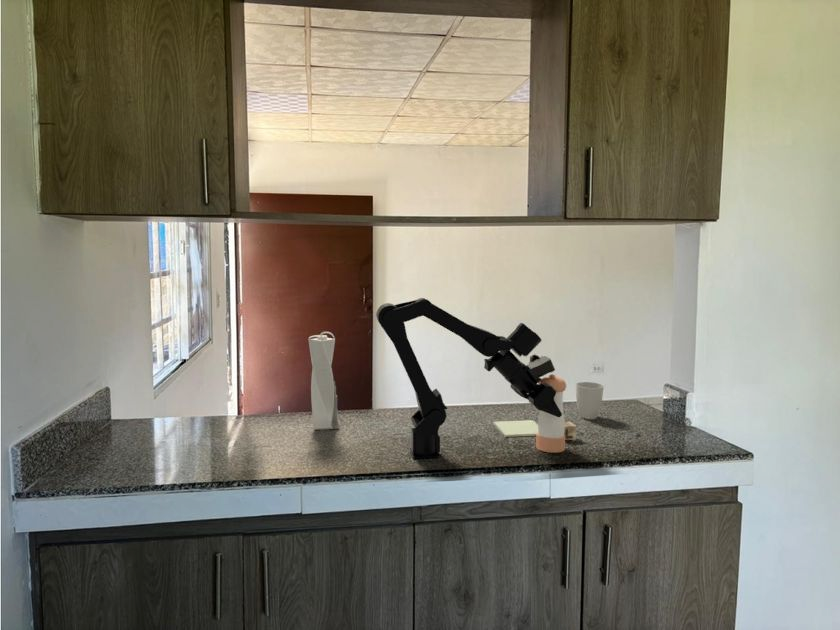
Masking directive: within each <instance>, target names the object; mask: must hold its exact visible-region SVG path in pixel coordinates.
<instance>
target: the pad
mask: <svg viewBox="0 0 840 630" xmlns="http://www.w3.org/2000/svg"><path fill="white" fill-rule="evenodd" d="M492 424H493V425H494V427H495V428H497V429H498V431H500V433H501V434H502V435H503V436H504V437H505V438H508V437H509V438H513V437H514V438H515V437H533V436H534V437H536V435H537V433H538V423H537V422H535V421H534V419H533V420H532V419H531V420H530V419H529V420H504V421H503V420H502V421H501V420H500V421H493V423H492Z"/></svg>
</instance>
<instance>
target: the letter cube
mask: <svg viewBox="0 0 840 630" xmlns="http://www.w3.org/2000/svg"><path fill="white" fill-rule="evenodd" d="M564 435H565V440H573V441H577V425H576V424H575V423H573V422H571V421H564Z"/></svg>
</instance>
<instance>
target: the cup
mask: <svg viewBox="0 0 840 630" xmlns="http://www.w3.org/2000/svg"><path fill="white" fill-rule="evenodd" d="M604 387H605V386H604V385H603V384H601V383H597V382H592V381H591V382H590V381H582V382H581V381H579V382H577V383H575V400H576V407H577V412H578V416H579V418H581V417H582V418H581V419H584V418H585V419H586V420H596V419H598V415H599V414H600V410H601V407H602V401H603V394H604Z"/></svg>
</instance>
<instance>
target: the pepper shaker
mask: <svg viewBox="0 0 840 630" xmlns="http://www.w3.org/2000/svg"><path fill="white" fill-rule="evenodd" d="M541 379H542V380H541V381H540V382H539V383H537V384H538V385H540V384H541V383H547V384H548V385H550V386H552V387H553V388H554V389H555V390H556V395H555V396H554V401H555V403H556V404H557V406H558V408H559V410H560V411H561V413H562V416H561V417H556V416H554V415H551V414H549V413H546V412H543V411H541V410H539V413H538V419H537V424H538V433H537V435H536V436H535V437H536V438H535V441H536V443H535V446H536V447H535V448H536V449H537V450H539V451H542V452H544V453H545V452H546V453H553V454H554V453H561V452H565V450H566V441H565V435H564V422H565V415H564V409H563V405H564V404H563V403H564V402H563V401H564V400H563V399H564V392H565V391H566V389H567V384H566V382H565V380H564V379H563V378H560V377H557V376H556V375H555V374H554V373H553V374H549V375H548V376H546V377H543V378H542V377H541Z"/></svg>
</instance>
